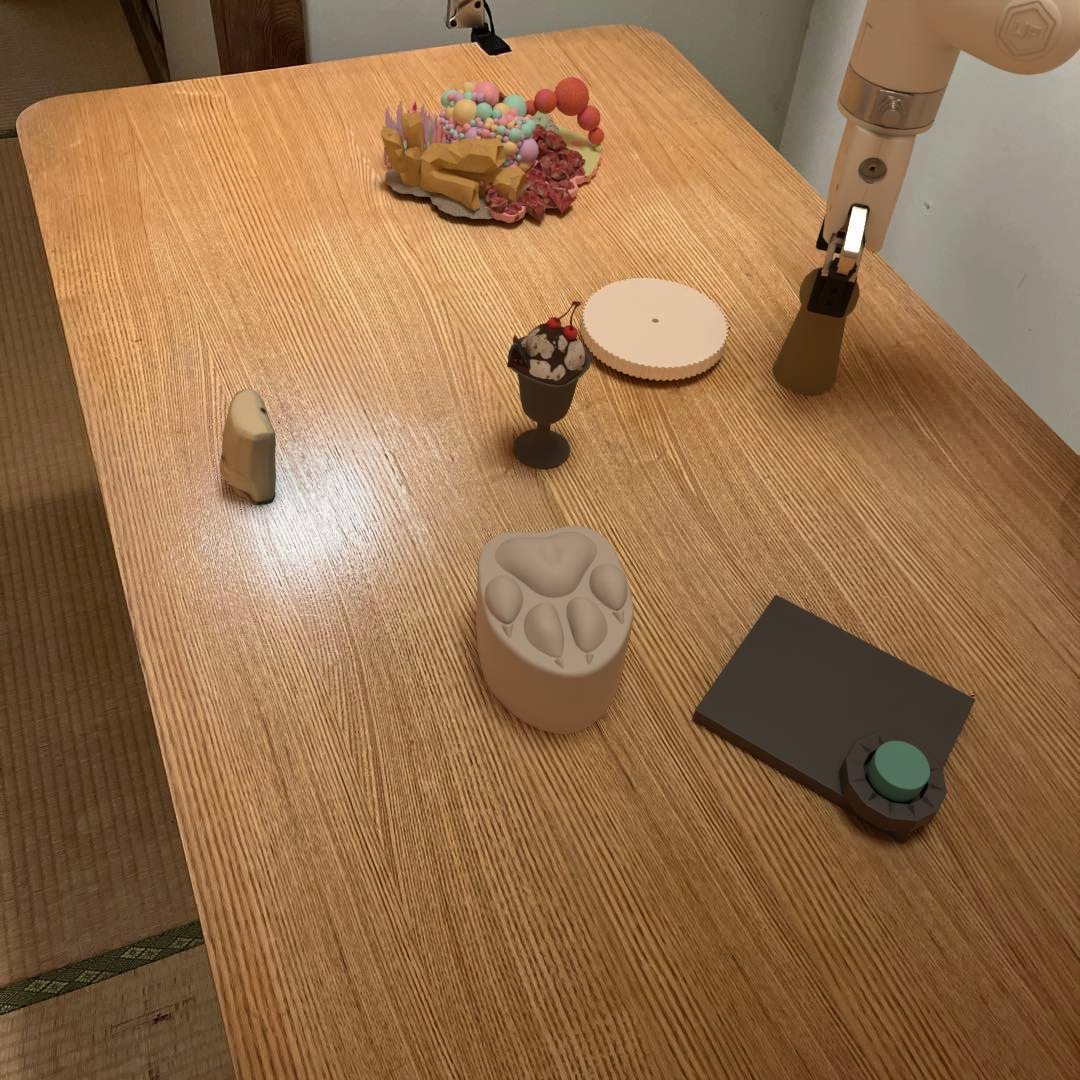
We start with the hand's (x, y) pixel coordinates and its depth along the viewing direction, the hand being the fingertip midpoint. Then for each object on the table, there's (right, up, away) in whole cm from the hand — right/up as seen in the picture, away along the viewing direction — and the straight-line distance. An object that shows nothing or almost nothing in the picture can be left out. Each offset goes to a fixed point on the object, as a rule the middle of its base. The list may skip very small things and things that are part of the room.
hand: (828, 280), depth 95 cm
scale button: (-2, -39, -24) cm, 45 cm away
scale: (-5, -35, -18) cm, 40 cm away
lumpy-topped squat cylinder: (-25, -32, -16) cm, 43 cm away
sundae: (-25, -15, -1) cm, 30 cm away
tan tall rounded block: (-49, -18, -6) cm, 52 cm away
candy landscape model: (-31, +20, +29) cm, 47 cm away
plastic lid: (-15, -4, +10) cm, 18 cm away
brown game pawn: (0, -7, +8) cm, 11 cm away
